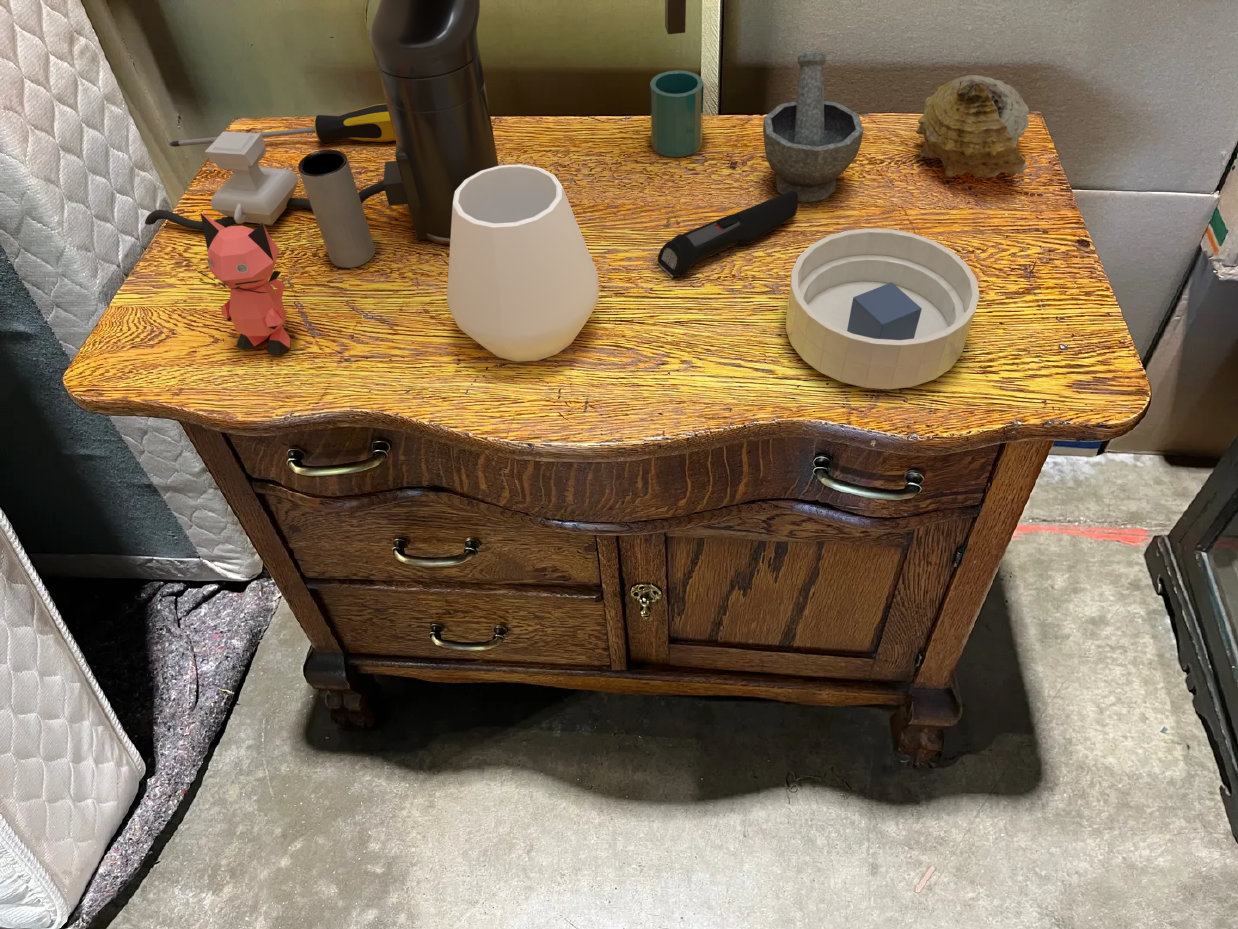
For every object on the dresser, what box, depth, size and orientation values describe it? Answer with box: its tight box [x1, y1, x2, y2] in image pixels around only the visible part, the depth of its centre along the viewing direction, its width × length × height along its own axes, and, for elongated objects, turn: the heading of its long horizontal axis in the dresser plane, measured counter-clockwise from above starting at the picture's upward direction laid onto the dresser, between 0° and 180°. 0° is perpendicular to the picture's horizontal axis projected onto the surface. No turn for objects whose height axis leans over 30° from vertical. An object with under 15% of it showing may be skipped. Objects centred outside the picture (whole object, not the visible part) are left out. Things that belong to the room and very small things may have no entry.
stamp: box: [204, 131, 300, 226], centre depth 93 cm, size 9×7×8 cm
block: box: [847, 282, 922, 340], centre depth 77 cm, size 4×4×4 cm
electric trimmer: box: [657, 191, 799, 278], centre depth 88 cm, size 4×16×3 cm, turn 122°
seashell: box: [915, 74, 1030, 179], centre depth 94 cm, size 11×14×10 cm
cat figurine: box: [194, 212, 291, 355], centre depth 79 cm, size 7×7×12 cm
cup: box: [446, 163, 600, 363], centre depth 77 cm, size 13×13×14 cm
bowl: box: [785, 227, 980, 390], centre depth 77 cm, size 15×15×6 cm
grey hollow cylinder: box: [297, 149, 376, 269], centre depth 87 cm, size 4×4×10 cm
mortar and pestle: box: [762, 50, 864, 203], centre depth 90 cm, size 11×9×12 cm
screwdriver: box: [169, 103, 396, 148], centre depth 104 cm, size 3×3×30 cm
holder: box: [649, 69, 705, 158], centre depth 98 cm, size 6×6×7 cm
